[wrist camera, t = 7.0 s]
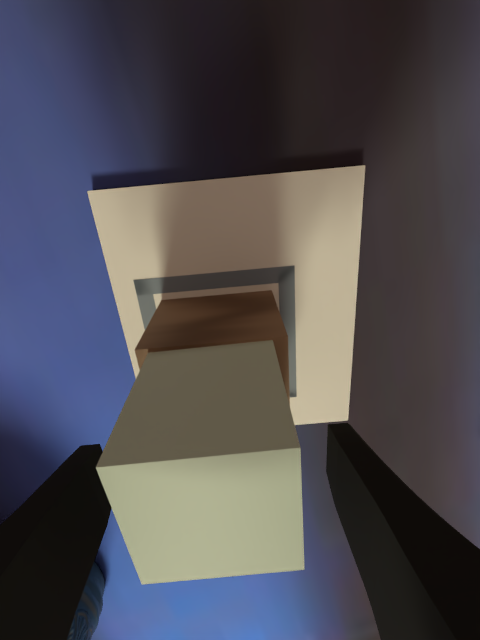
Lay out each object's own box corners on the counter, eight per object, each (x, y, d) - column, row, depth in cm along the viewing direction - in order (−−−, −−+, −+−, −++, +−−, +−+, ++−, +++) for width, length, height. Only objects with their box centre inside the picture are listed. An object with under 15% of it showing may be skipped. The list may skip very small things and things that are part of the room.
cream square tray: (360, 165, 14) (365, 165, 14) (344, 413, 20) (348, 420, 20) (92, 190, 15) (86, 191, 14) (153, 430, 20) (151, 437, 20)
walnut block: (271, 290, 16) (288, 336, 12) (275, 382, 18) (291, 450, 14) (161, 300, 16) (134, 349, 12) (179, 390, 18) (162, 461, 14)
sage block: (272, 339, 12) (300, 448, 7) (279, 435, 13) (304, 569, 9) (148, 352, 12) (96, 467, 7) (171, 446, 14) (141, 584, 9)
